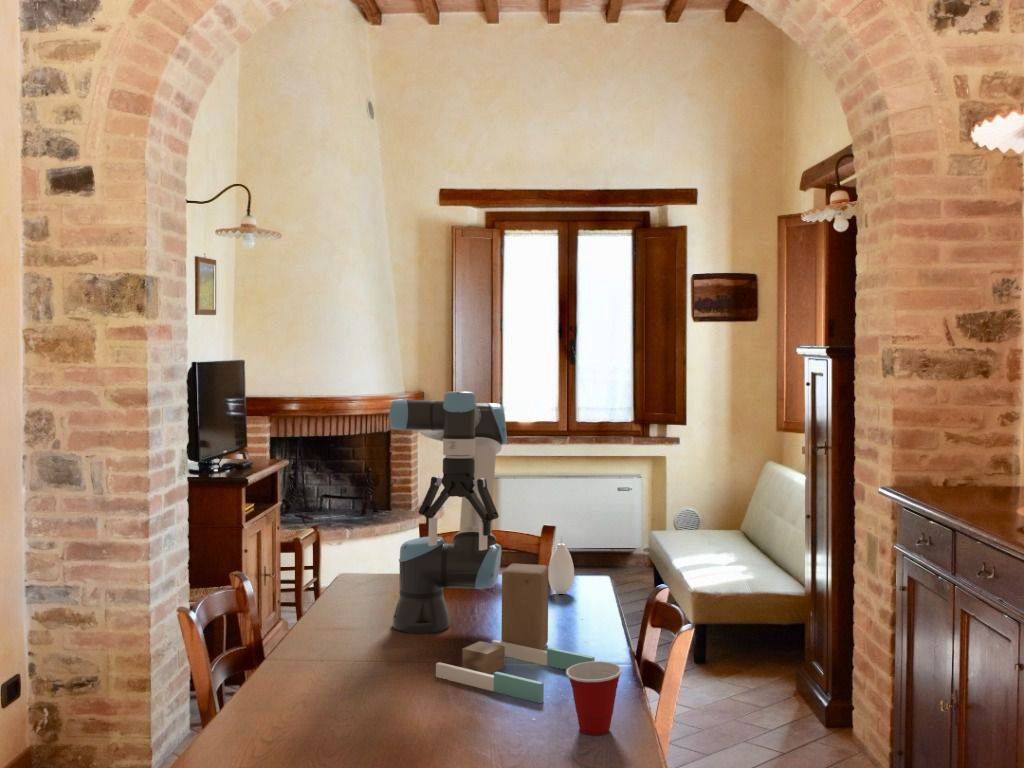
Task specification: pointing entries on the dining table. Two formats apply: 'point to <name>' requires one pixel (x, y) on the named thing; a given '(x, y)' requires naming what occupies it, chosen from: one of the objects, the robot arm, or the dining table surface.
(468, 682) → the walled lane
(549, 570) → the sauce bottle
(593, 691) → the plastic cup
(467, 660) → the walnut block
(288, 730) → the dining table surface
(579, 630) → the dining table surface
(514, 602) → the wooden block
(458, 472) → the robot arm
